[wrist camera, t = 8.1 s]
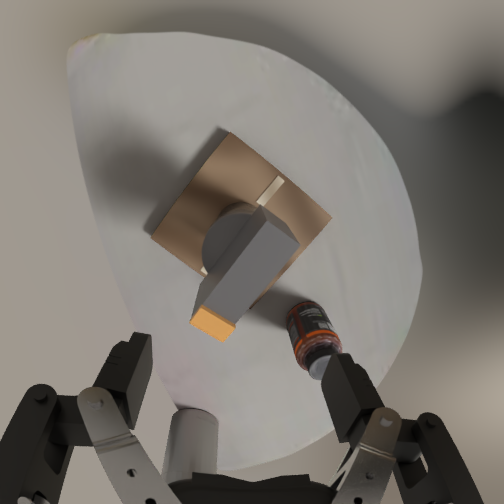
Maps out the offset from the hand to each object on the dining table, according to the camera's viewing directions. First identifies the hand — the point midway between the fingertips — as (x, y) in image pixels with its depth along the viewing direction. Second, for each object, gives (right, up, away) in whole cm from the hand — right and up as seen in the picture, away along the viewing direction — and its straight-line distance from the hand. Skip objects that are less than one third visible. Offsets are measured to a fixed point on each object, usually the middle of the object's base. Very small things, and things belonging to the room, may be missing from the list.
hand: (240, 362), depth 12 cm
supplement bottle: (+8, -5, +29) cm, 31 cm away
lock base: (-1, +8, +24) cm, 25 cm away
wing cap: (0, +5, +15) cm, 16 cm away
